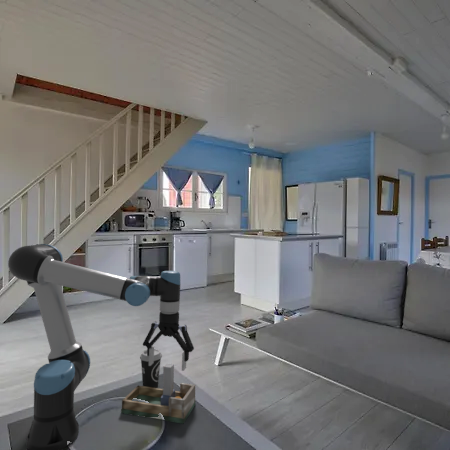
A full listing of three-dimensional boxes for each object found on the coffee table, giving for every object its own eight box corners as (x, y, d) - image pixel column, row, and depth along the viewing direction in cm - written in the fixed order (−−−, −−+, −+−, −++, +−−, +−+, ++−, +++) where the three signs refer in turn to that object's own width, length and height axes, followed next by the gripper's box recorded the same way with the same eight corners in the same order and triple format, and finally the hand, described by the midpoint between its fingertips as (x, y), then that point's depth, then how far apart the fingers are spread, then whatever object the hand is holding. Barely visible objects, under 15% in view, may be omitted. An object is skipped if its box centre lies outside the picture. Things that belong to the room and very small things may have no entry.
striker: (160, 409, 119) (161, 369, 119) (168, 400, 126) (168, 361, 126) (167, 410, 118) (168, 369, 118) (175, 401, 125) (175, 362, 125)
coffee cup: (154, 379, 147) (155, 346, 147) (165, 386, 140) (166, 352, 140) (135, 385, 140) (136, 351, 141) (146, 394, 133) (146, 358, 134)
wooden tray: (121, 413, 119) (121, 391, 120) (138, 395, 132) (138, 376, 132) (183, 423, 114) (183, 401, 114) (195, 404, 126) (195, 384, 126)
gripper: (203, 312, 123) (201, 367, 123) (144, 306, 129) (142, 358, 129) (197, 317, 116) (194, 375, 116) (135, 310, 122) (133, 366, 121)
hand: (167, 366), depth 122 cm, fingers open, 13 cm apart
